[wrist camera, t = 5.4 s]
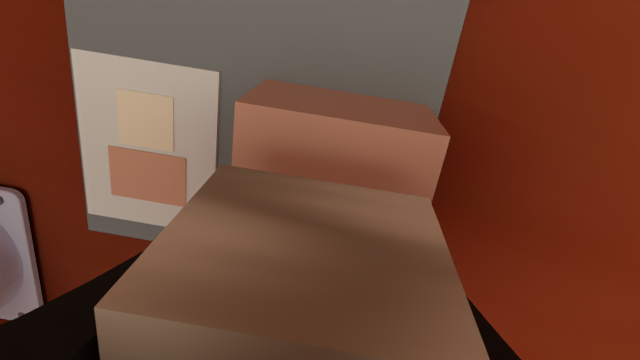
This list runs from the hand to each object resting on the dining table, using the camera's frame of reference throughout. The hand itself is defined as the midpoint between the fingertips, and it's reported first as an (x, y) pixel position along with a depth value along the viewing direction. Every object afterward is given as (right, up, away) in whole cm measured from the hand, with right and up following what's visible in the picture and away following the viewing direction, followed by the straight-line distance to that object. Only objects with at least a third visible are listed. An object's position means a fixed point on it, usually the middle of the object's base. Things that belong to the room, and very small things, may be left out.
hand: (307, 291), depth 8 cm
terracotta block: (+1, +3, +7) cm, 8 cm away
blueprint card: (-7, +4, +8) cm, 11 cm away
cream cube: (0, 0, +1) cm, 1 cm away
